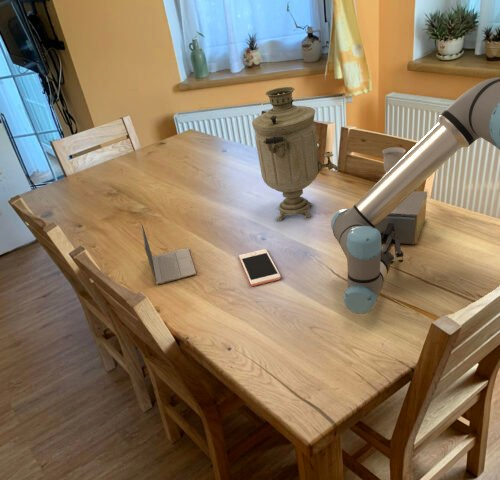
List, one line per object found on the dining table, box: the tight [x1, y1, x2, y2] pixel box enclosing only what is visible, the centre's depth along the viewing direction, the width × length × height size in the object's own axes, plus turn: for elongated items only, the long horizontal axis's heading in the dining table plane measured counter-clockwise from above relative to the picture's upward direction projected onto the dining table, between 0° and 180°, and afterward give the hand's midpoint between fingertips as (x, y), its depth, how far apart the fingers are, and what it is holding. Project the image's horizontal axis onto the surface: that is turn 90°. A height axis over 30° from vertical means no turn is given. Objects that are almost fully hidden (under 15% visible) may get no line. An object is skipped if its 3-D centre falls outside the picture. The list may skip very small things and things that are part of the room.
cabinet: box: [388, 190, 428, 246], centre depth 151 cm, size 16×14×10 cm
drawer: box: [374, 215, 415, 245], centre depth 149 cm, size 16×12×8 cm
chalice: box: [381, 146, 406, 175], centre depth 163 cm, size 7×7×18 cm
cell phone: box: [238, 248, 282, 287], centre depth 148 cm, size 9×18×1 cm, turn 12°
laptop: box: [140, 222, 197, 285], centre depth 153 cm, size 18×12×13 cm
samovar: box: [251, 86, 340, 222], centre depth 161 cm, size 30×26×40 cm
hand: (391, 227), depth 143 cm, fingers closed
